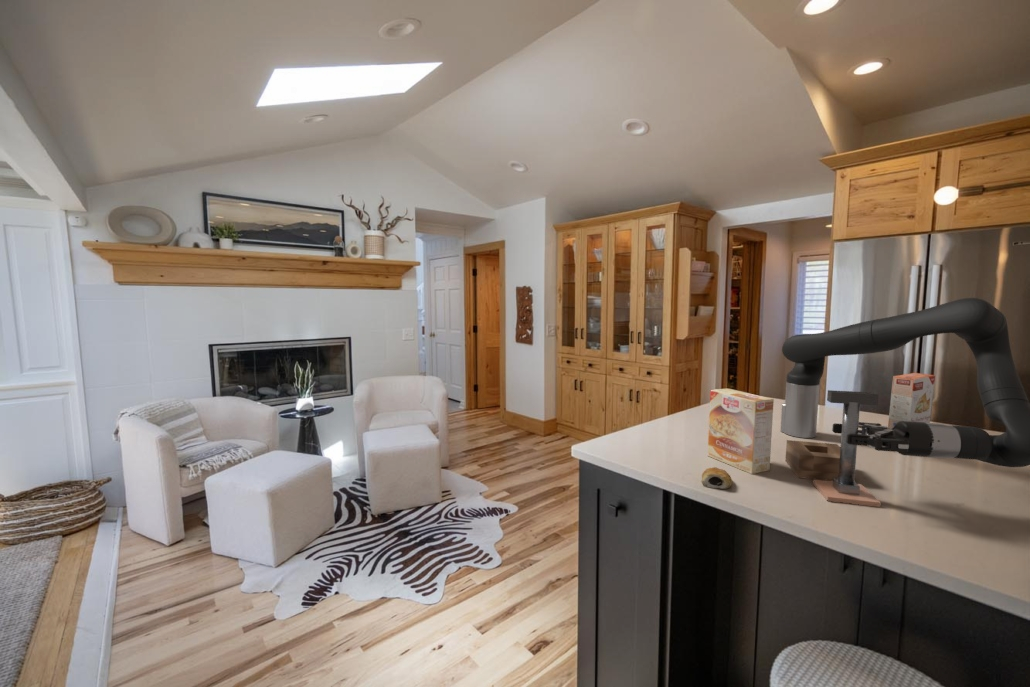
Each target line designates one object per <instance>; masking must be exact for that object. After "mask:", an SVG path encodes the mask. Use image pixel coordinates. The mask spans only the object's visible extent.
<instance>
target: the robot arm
mask: <svg viewBox="0 0 1030 687" xmlns="http://www.w3.org/2000/svg"><path fill="white" fill-rule="evenodd" d="M938 334H939V335H940V334H954V335H956V336H958V337H959V338H961V339H962V340H964V341H965V343H966V344H967V345H968V348H970V350H971V352H972V354H973V356H974V359H975V362H976V368H977V369H976V370H977V375H976V386H977V390H978V394H979V397H980V400H981V403H982V406H983V408H984V412H985V414H986V416H987V417H988V418H989V420H991V421H992V422H995V423H999V424H1003V426H1004V427H1005V430H1006V431H1005V432H1002V433H1001V434H997V435H993V434H989V433H988V432H987V431H986V430H985V429H983V428H979V427H977V426H976V427H975V426H967V425H953V424H952V425H951V424H944V423H936V422H930V423H926V422H911V421H899V422H897V423H896V424H895V426H894V428H892V429H889V428H888V426H886V425H882V424H881V423H879V422H878V423H876V422H862V421H861V422H860V421H859V425H858V434H847V437H846V442H847V443H848V444H851V445H857V446H865V447H868V448H871V449H874V450H875V451H878V452H880V451H881V452H894V453H895V452H896V453H898V454H900V455H902V456H910V457H911V456H912V457H920V458H921V457H923V458H931V459H932V458H933V459H936V458H937V459H961V460H974V461H975V460H977V461H979V462H984V463H987V464H991V465H995V466H998V467H999V466H1000V467H1005V468H1023V467H1028V466H1030V400H1029V398H1028V396H1027V394H1026V390H1025V387H1024V386H1023V384H1022V380H1021V378H1020V375H1019V374H1018V371H1017V368H1016V366H1015V362H1014V359H1013V354H1012V349H1011V343H1010V336H1009V335H1010V334H1009V328H1008V323H1007V317H1006V316H1005V314H1003V312H1001V311H1000V309H998V308H996V307H995V306H994V305H993V304H991V303H990V302H988V301H987V300H985V299H982V298H978V297H965V298H960V299H956V300H952V301H949V302H945V303H942V304H939V305H936V306H931V307H928V308H924V309H921V310H917V311H912V312H908V313H901V314H898V315H892V316H888V317H882V318H876V319H872V320H871V319H870V320H868V321H862V322H858V323H853V324H849V325H846V326H842V327H838V328H836V329H832V330H829V331H825V332H818V333H805V334H803V333H802V334H794V335H792V336H790V337H789V338H787V339H786V340H785V342H783V344H782V347H781V348H782V349H781V351H782V355H783V357H785V358H786V360H788V361H789V362H793V363H794V365H793V368H792V369H791V370H790V371H789V372H788V373H787V375H786V383H785V396H784V397H785V398H784V399H785V400H784V403H782V404H781V416H780V418H781V419H780V432H782V433H784V434H786V435H789V436H791V437H796V438H801V439H802V438H803V439H811V438H815V437H817V426H818V413H819V411H818V410H819V398H820V385H821V384H820V381H821V378H822V377H823V375H824V371H825V370H824V369H825V362H826V357H830V356H851V355H855V356H856V355H857V356H858V355H868V354H876V353H881V352H888V351H892V350H897V349H899V348H902V347H903V346H906V344H908V343H910V342H912V341H914V340H915V339H919V338H923V337H925V336H933V335H938ZM859 428H860V429H861V430H860V429H859ZM831 431H832V432H833V433H834V434H840V435H841V434H842V423H833V424H832V428H831Z"/></svg>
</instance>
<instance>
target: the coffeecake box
mask: <svg viewBox="0 0 1030 687" xmlns="http://www.w3.org/2000/svg"><path fill="white" fill-rule="evenodd" d="M774 402H775V400H774V398H770V397H766V396H761V395H757V394H752V393H750V392H746V391H741V390H736V389H732V388H715V389H711V390H710V395H709V417H708V419H709V420H708V439H707V440H708V441H707V443H708V444H707V457H709V458H712V459H715V460H716V461H719V462H722V463H724V464H727V465H729V466H731V467H733V468H736V469H739V470H741V471H744V472H746V473H748V474H751V475H755V474H759V473H763V472H767V471H770V469H771V468H770V467H771V453H772V438H773V437H772V435H773V418H774V414H773V413H774Z"/></svg>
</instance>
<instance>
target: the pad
mask: <svg viewBox="0 0 1030 687" xmlns="http://www.w3.org/2000/svg"><path fill="white" fill-rule="evenodd" d="M812 480H813V483H812V484H813V485H814V487H815V488H816V489H817V490H818V491H819V493H820V494H821V495H822V496H823V498H825V500H826V499H827V500H828V501H827V500H826V501H827V502H831V501H834V503H840V502H843V504H849V503H852V504H851V505H858V504H859V505H858V506H868V507H875V508H878V507H879V508H881V505H882V504H881V501H880V500H879V499H877V497H876V496H874V495H873V494H872V493H871V492H870V491H869V490H868V489H867V488H866V487H865V486H864V485H863V484H862V483H861V484H860V483H857V484H858V485H859V486H860V492H859V495H854V494H844V493H838V492H837V490H836V489H835V488H834V487H833V486H832V484H833V481H828V480H818V479H812Z"/></svg>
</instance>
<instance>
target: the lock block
mask: <svg viewBox="0 0 1030 687" xmlns="http://www.w3.org/2000/svg"><path fill="white" fill-rule="evenodd" d="M785 447H786V448H785V462H786V464H787V465H788V467H789V468H790V469H791V470H792V471H793V473H794V474H795V475H796V477H797V478H800V479H809V480H822V481H832V482H833V478H838V476H839V462H840V448H841V445H839V444H838V443H829V442H828V443H827V442H817V441H816V442H815V441H803V440H802V441H801V440H790V439H789V440H788V439H786V446H785Z"/></svg>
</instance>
